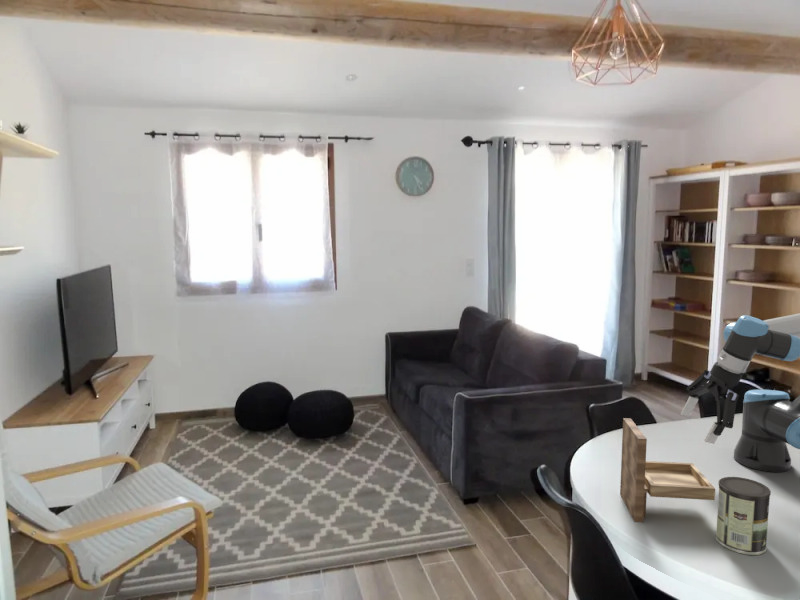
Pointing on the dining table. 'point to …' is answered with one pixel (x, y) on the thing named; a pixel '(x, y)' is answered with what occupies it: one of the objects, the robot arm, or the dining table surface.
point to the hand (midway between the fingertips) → (696, 428)
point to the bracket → (655, 475)
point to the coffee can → (742, 515)
